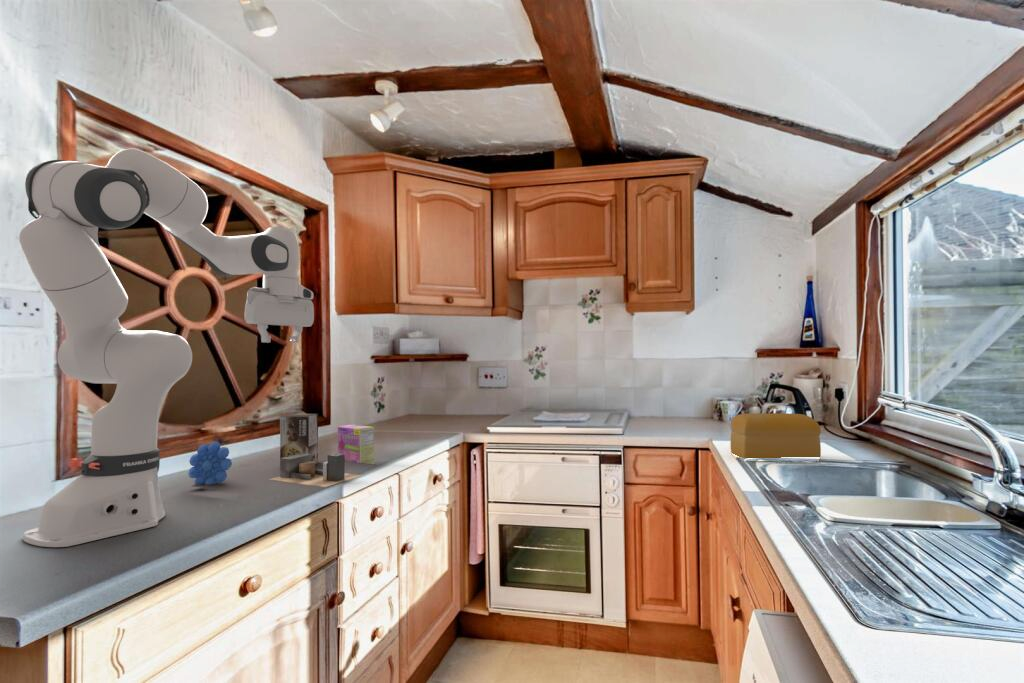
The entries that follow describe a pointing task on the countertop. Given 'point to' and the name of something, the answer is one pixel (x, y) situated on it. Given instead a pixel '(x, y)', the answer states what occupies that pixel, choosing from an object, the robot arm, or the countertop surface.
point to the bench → (292, 475)
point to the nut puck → (307, 468)
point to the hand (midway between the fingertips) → (280, 342)
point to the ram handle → (334, 467)
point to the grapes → (210, 464)
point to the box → (356, 443)
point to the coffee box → (299, 435)
